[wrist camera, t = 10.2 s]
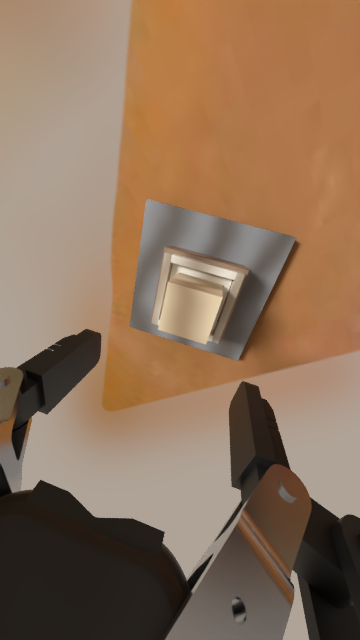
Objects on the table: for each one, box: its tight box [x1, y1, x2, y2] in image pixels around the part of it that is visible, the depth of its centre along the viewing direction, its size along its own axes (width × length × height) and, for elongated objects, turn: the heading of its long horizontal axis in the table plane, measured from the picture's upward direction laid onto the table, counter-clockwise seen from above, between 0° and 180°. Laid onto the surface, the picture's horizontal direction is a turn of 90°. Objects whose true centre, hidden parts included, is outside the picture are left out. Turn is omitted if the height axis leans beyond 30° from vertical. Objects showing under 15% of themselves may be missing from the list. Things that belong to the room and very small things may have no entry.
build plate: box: [130, 199, 297, 361], centre depth 24 cm, size 18×18×6 cm
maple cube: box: [158, 272, 223, 344], centre depth 19 cm, size 5×5×5 cm
